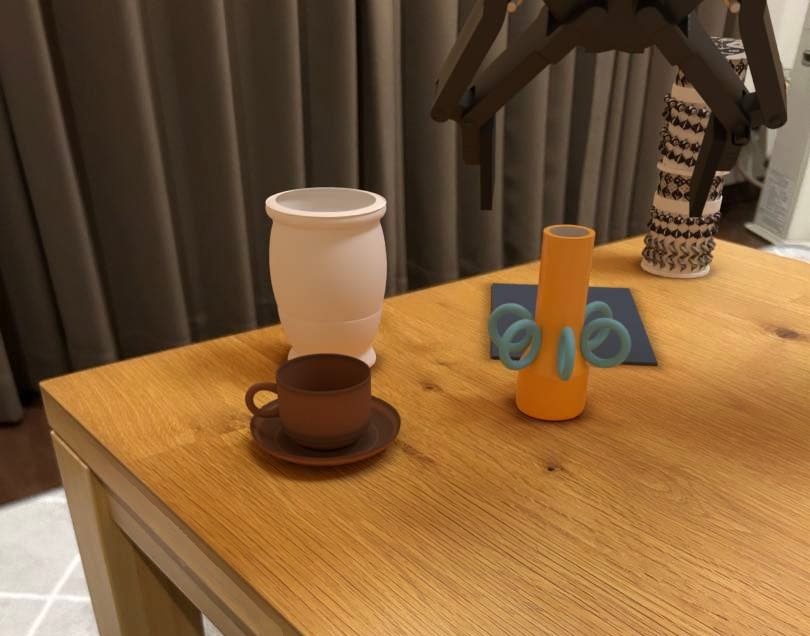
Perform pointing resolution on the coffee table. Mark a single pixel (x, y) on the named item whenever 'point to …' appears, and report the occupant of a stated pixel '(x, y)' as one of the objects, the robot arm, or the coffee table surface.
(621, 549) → the coffee table surface
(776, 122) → the robot arm
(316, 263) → the jar
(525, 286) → the dark grey flat rectangle
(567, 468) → the coffee table surface
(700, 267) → the decorative candle
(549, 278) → the cylinder
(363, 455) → the cup and saucer
